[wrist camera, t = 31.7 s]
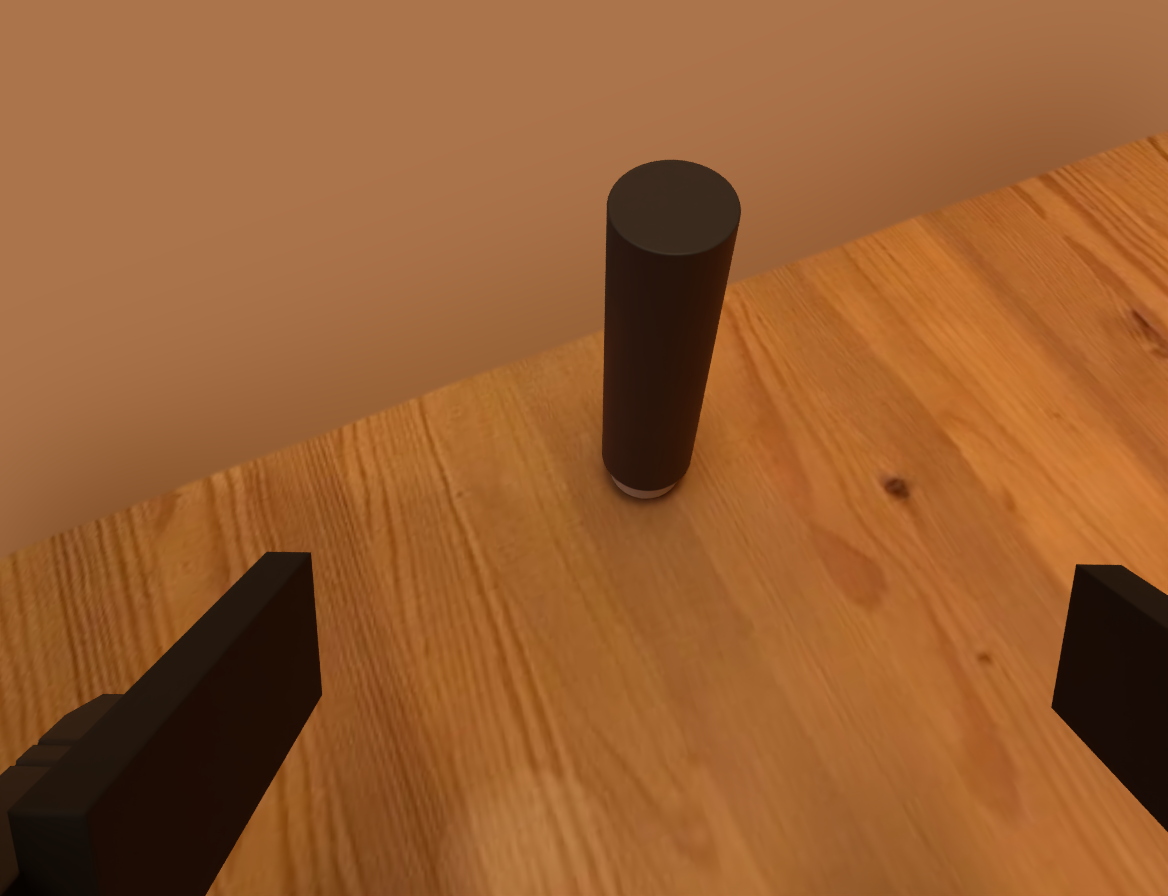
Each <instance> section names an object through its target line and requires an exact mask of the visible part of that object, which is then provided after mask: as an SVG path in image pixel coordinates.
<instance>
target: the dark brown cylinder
mask: <svg viewBox="0 0 1168 896" xmlns="http://www.w3.org/2000/svg"><path fill="white" fill-rule="evenodd" d="M740 215H741V207H740V202H739V199H738V196H737V194H736V192H735V190H734V188H733V187H732V186H731V184H730V183H729V182H728V181H727V180H726V179H725V178H724V177H722V176H721V175H720V174H718V173H717V172H715V171H713V170H712V169H710V168H708V167H705V166H703V165H700V164H696V163H693V162H688V161H682V160H661V161H654V162H650V163H646V164H643V165H640V166H638V167H635V168H634V169H632V170H630V171H629V172H627V173H626V174H624V175H623V176H622V177H621V178H620V179H619V180H618V181H617V182H616V183H615V184H614V186H613V188H612V189H611V191H610V194H609V196H608V201H607V226H606V278H605V330H604V382H603V434H602V456H603V460H604V464H605V466H606V468H607V470H608V471H609V473H610V474H611V476H612V478H613V480H614V482H615V484H616V485H617V486H618V487H619V488H620V489H621V490H622V491H624V492H625V493H627V494H629V495H631V496H633V497H637V498H643V499H648V498H655V497H658V496H661V495H663V494H665V493H667V492H668V491H669V490H670V489H672V488H673V486H674V485H675V484H676V482H677V481H678V480H679V479H681V478H682V476H683V475H684V474H685V473H686V471H687V469H688V467H689V465H690V461H691V456H692V452H693V447H694V442H695V437H696V432H697V427H698V422H699V417H700V412H701V407H702V403H703V398H704V393H705V388H706V383H707V378H708V373H709V368H710V363H711V358H712V353H713V349H714V344H715V339H716V334H717V329H718V324H719V319H720V314H721V309H722V304H723V300H724V295H725V290H726V285H727V280H728V275H729V270H730V265H731V260H732V255H733V251H734V245H735V241H736V236H737V231H738V226H739V221H740Z"/></svg>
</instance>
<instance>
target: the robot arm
mask: <svg viewBox="0 0 1168 896" xmlns="http://www.w3.org/2000/svg"><path fill="white" fill-rule="evenodd" d="M321 696H322V686H321V673H320V661H319V648H318V636H317V623H316V610H315V598H314V585H313V572H312V560H311V553H309V552H266V553H265V554H264V555H263V556H262V557H261V558H260V559H259V560H258V561H257V562H256V563H255V564H254V565H253V566H252V567H251V568H250V569H249V570H248V571H247V572H246V573H245V574H244V575H243V576H242V577H241V578H240V579H239V580H238V581H237V582H236V583H235V584H234V585H233V586H232V587H231V588H230V589H229V590H228V591H227V592H226V593H225V594H224V595H223V596H222V597H221V598H220V599H219V600H218V601H217V602H216V603H215V604H214V605H213V606H212V607H211V608H210V609H209V610H208V611H207V612H206V613H205V614H204V615H203V616H202V617H201V618H200V619H199V620H198V621H197V622H196V623H195V624H194V625H193V626H192V627H191V628H190V629H189V630H188V631H187V632H186V633H185V634H184V635H183V636H182V637H181V638H180V639H179V640H178V641H177V642H176V643H175V644H174V645H173V646H172V647H171V648H170V649H169V650H168V651H167V652H166V653H165V654H164V655H163V656H162V657H161V658H160V659H159V660H158V661H157V662H156V663H155V664H154V665H153V666H152V667H151V668H150V669H149V670H148V671H147V672H146V673H145V674H144V675H143V676H142V677H141V678H140V679H139V680H138V681H137V682H136V683H135V684H134V685H133V686H132V687H131V688H130V689H129V690H128V691H127V692H126V693H125V694H102V695H101V696H99V697H97V698H95V699H93V700H92V701H90V702H88V703H86V704H84V705H83V706H81V707H79V708H77V709H75V710H74V711H72V712H70V713H68V714H66V715H65V716H64V717H63V718H62V719H61V720H60V721H58V722H57V723H56V724H55V725H54V726H53V727H52V728H51V729H50V730H49V731H48V732H47V733H46V734H44V735H43V736H42V737H41V738H40V739H39V742H38V745H33V746H32V747H30V748H29V749H28V750H27V751H26V752H25V753H24V754H23V755H22V756H21V757H20V758H19V759H18V760H16V765H15V766H10V767H9V768H8V769H7V770H6V771H5V772H4V773H2V774H1V775H0V896H205V895H206V893H207V892H208V890H209V888H210V887H211V885H212V883H213V881H214V880H215V878H216V876H217V875H218V873H219V871H220V869H221V868H222V866H223V864H224V863H225V861H226V859H227V857H228V856H229V854H230V852H231V850H232V849H233V847H234V845H235V844H236V842H237V840H238V838H239V837H240V835H241V833H242V832H243V830H244V828H245V826H246V825H247V823H248V821H249V820H250V818H251V816H252V814H253V813H254V811H255V809H256V807H257V806H258V804H259V802H260V801H261V799H262V797H263V795H264V794H265V792H266V790H267V789H268V787H269V785H270V783H271V782H272V780H273V778H274V777H275V775H276V773H277V771H278V770H279V768H280V766H281V764H282V763H283V761H284V759H285V758H286V756H287V754H288V752H289V751H290V749H291V747H292V746H293V744H294V742H295V740H296V739H297V737H298V735H299V734H300V732H301V730H302V728H303V727H304V725H305V723H306V722H307V720H308V718H309V716H310V715H311V713H312V711H313V709H314V708H315V706H316V704H317V703H318V701H319V699H320V697H321ZM1051 708H1052V709H1053V710H1054V711H1055V712H1056V713H1057V714H1058V715H1059V716H1060V717H1061V718H1062V719H1063V720H1064V721H1065V723H1066V724H1067V725H1068V726H1069V727H1070V728H1071V729H1072V730H1073V731H1074V732H1075V733H1076V734H1077V735H1078V736H1079V738H1080V739H1081V740H1082V741H1083V742H1084V743H1085V744H1086V745H1087V746H1088V747H1089V748H1090V749H1091V750H1092V751H1093V753H1094V754H1095V755H1096V756H1097V757H1098V758H1099V759H1100V760H1101V761H1102V762H1103V763H1104V764H1105V765H1106V766H1107V768H1108V769H1109V770H1110V771H1111V772H1112V773H1113V774H1114V775H1115V776H1116V777H1117V778H1118V779H1119V780H1120V781H1121V783H1122V784H1123V785H1124V786H1125V787H1126V788H1127V789H1128V790H1129V791H1130V792H1131V793H1132V794H1133V795H1134V796H1135V798H1136V799H1137V800H1138V801H1139V802H1140V803H1141V804H1142V805H1143V806H1144V807H1145V808H1146V809H1147V810H1148V811H1149V813H1150V814H1151V815H1152V816H1153V817H1154V818H1155V819H1156V820H1157V821H1158V822H1159V823H1160V824H1161V825H1162V826H1163V827H1164V829H1165V830H1166V831H1167V832H1168V595H1166V594H1165V593H1163V592H1162V591H1160V590H1159V589H1157V588H1156V587H1154V586H1153V585H1151V584H1149V583H1148V582H1146V581H1145V580H1143V579H1142V578H1140V577H1139V576H1137V575H1136V574H1134V573H1133V572H1131V571H1130V570H1128V569H1127V568H1125V567H1124V566H1122V565H1082V564H1076V569H1075V575H1074V580H1073V586H1072V592H1071V597H1070V603H1069V609H1068V615H1067V620H1066V626H1065V632H1064V638H1063V643H1062V649H1061V655H1060V661H1059V666H1058V672H1057V678H1056V684H1055V689H1054V695H1053V701H1052V707H1051Z"/></svg>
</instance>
